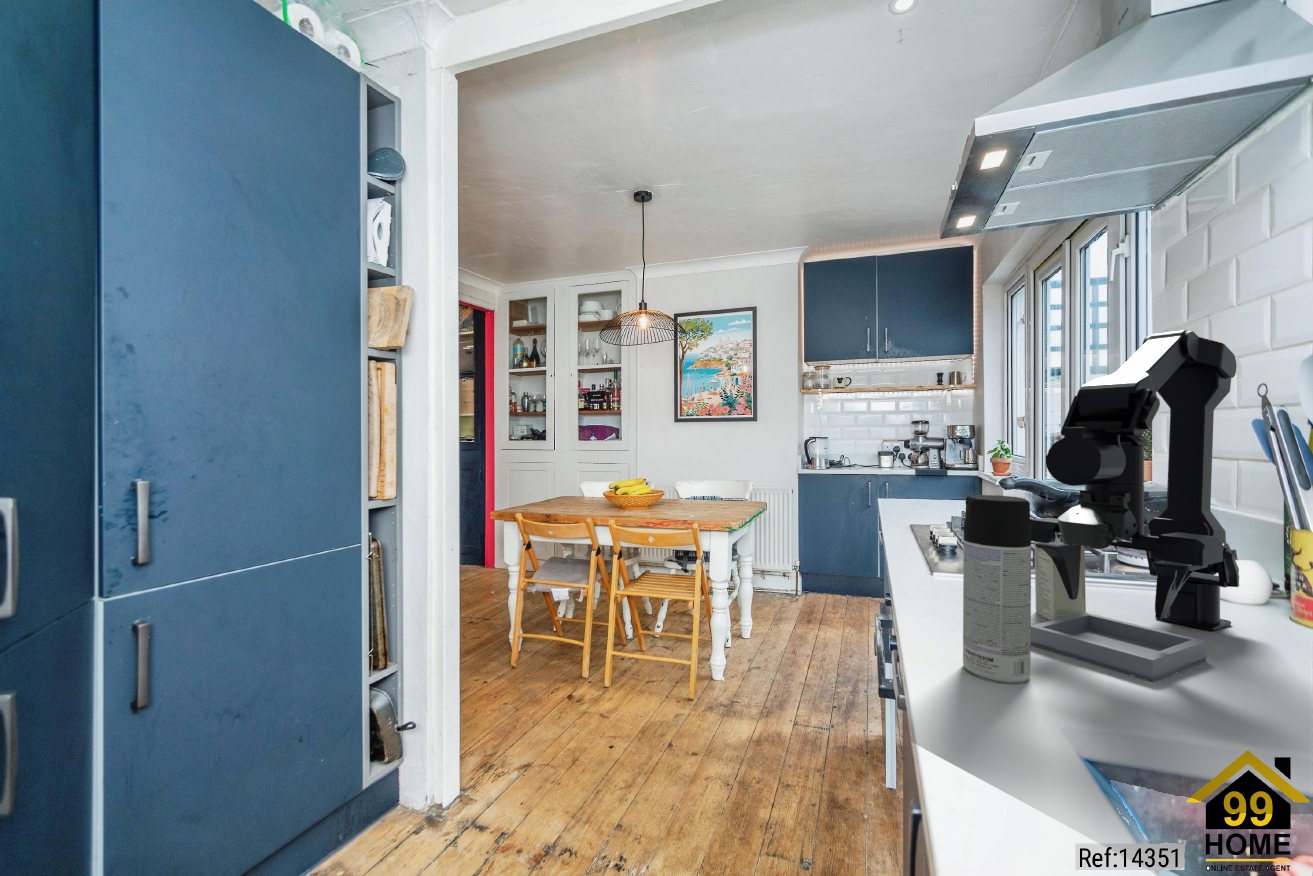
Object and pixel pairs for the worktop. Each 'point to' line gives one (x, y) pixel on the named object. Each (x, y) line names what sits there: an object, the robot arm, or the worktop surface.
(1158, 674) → the tray
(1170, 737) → the worktop surface
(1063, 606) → the skincare box
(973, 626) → the spray can
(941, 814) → the worktop surface
